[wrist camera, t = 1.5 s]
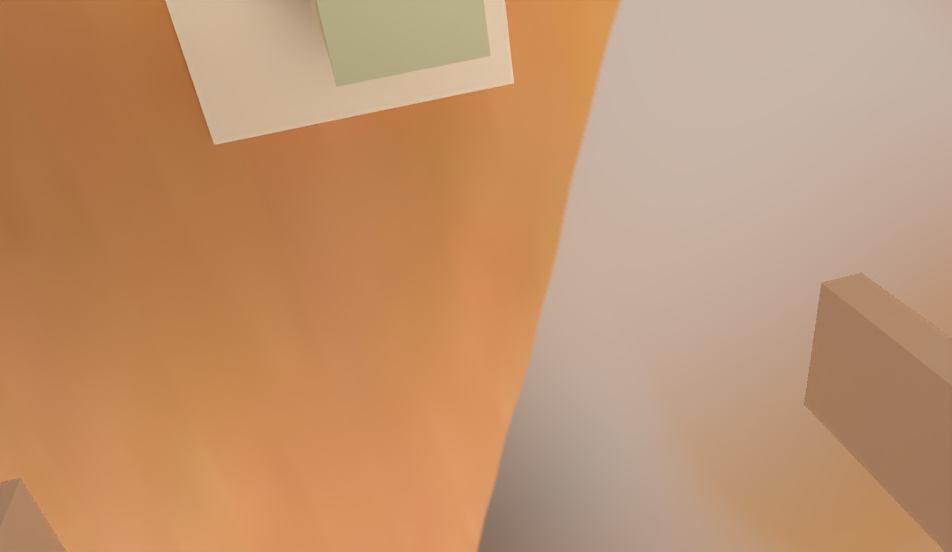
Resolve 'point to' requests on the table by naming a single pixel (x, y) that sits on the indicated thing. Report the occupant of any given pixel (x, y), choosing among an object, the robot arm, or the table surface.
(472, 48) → the tea tin
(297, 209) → the table surface
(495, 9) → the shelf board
